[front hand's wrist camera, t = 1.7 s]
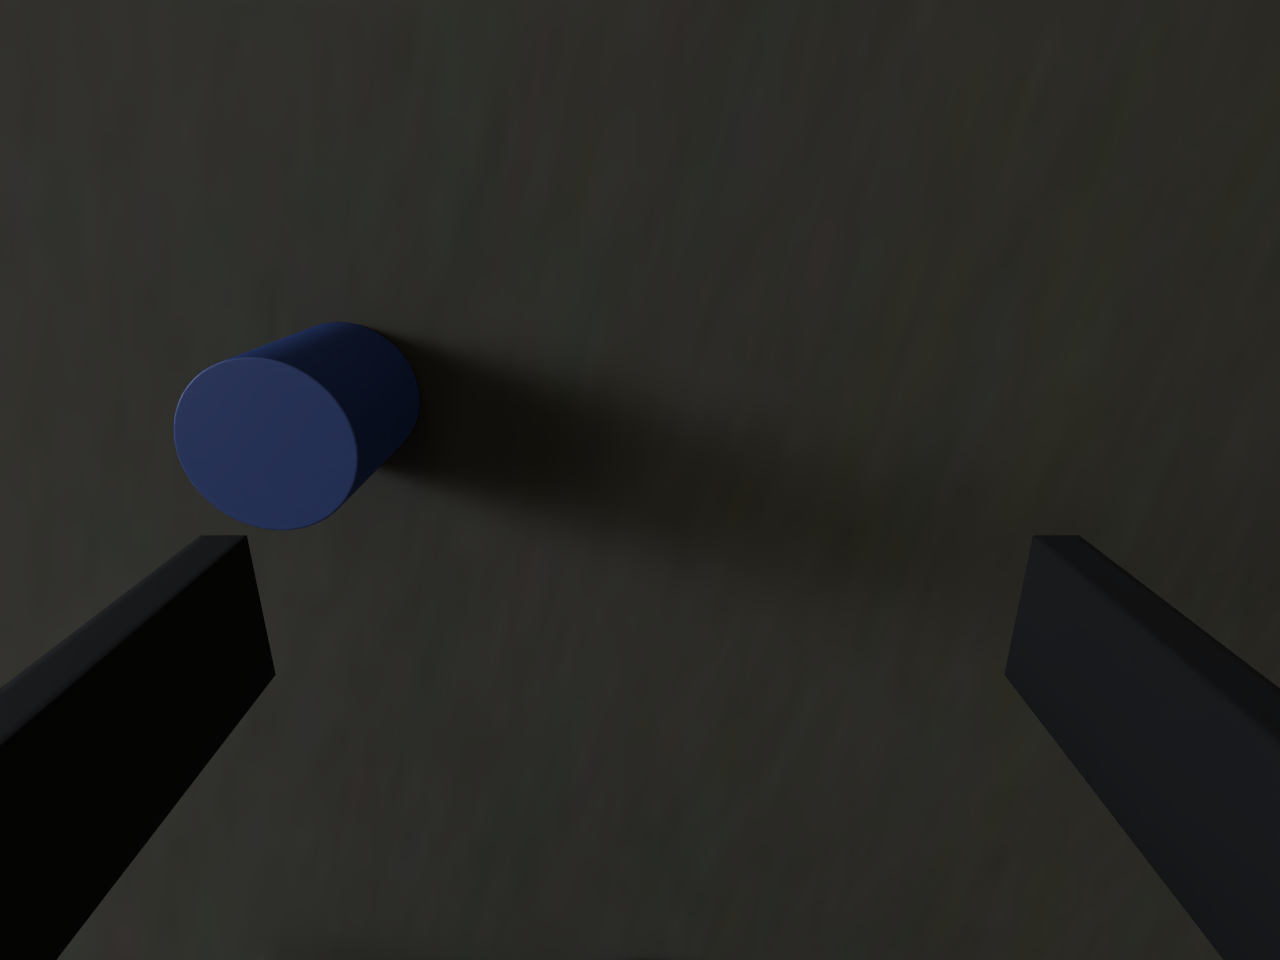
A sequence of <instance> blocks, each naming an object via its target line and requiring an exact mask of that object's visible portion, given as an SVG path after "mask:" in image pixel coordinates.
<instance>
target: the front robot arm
mask: <svg viewBox="0 0 1280 960" xmlns="http://www.w3.org/2000/svg"><path fill="white" fill-rule="evenodd" d="M274 676H275V670H274V665H273V660H272V656H271V651H270V646H269V641H268V636H267V631H266V626H265V622H264V617H263V612H262V607H261V602H260V597H259V593H258V588H257V583H256V578H255V573H254V568H253V563H252V559H251V554H250V549H249V544H248V539H247V536H200V537H198V538H197V539H196V540H194V541H193V542H192V543H190V544H189V545H188V546H187V547H185V548H184V549H183V550H181V551H180V552H179V553H177V554H176V555H175V556H173V557H172V558H171V559H169V560H168V561H167V562H166V563H164V564H163V565H162V566H160V567H159V568H158V569H156V570H155V571H154V572H152V573H151V574H150V575H148V576H147V577H146V578H145V579H143V580H142V581H141V582H139V583H138V584H137V585H135V586H134V587H133V588H131V589H130V590H129V591H127V592H126V593H125V594H124V595H122V596H121V597H120V598H118V599H117V600H116V601H114V602H113V603H112V604H110V605H109V606H108V607H107V608H105V609H104V610H103V611H101V612H100V613H99V614H97V615H96V616H95V617H93V618H92V619H91V620H89V621H88V622H87V623H86V624H84V625H83V626H82V627H80V628H79V629H78V630H76V631H75V632H74V633H72V634H71V635H70V636H68V637H67V638H66V639H65V640H63V641H62V642H61V643H59V644H58V645H57V646H55V647H54V648H53V649H51V650H50V651H49V652H47V653H46V654H45V655H44V656H42V657H41V658H40V659H38V660H37V661H36V662H34V663H33V664H32V665H30V666H29V667H28V668H26V669H25V670H24V671H23V672H21V673H20V674H19V675H17V676H16V677H15V678H13V679H12V680H11V681H9V682H8V683H7V684H6V685H4V686H3V687H2V688H0V960H57V958H58V957H59V956H60V954H61V953H62V952H63V950H64V949H65V948H66V947H67V945H68V944H69V943H70V941H71V940H72V939H73V937H74V936H75V935H76V934H77V932H78V931H79V930H80V928H81V927H82V926H83V924H84V923H85V922H86V921H87V919H88V918H89V917H90V915H91V914H92V913H93V911H94V910H95V909H96V908H97V906H98V905H99V904H100V902H101V901H102V900H103V898H104V897H105V896H106V895H107V893H108V892H109V891H110V889H111V888H112V887H113V885H114V884H115V883H116V882H117V880H118V879H119V878H120V876H121V875H122V874H123V872H124V871H125V870H126V868H127V867H128V866H129V865H130V863H131V862H132V861H133V859H134V858H135V857H136V855H137V854H138V853H139V852H140V850H141V849H142V848H143V846H144V845H145V844H146V842H147V841H148V840H149V839H150V837H151V836H152V835H153V833H154V832H155V831H156V829H157V828H158V827H159V826H160V824H161V823H162V822H163V820H164V819H165V818H166V816H167V815H168V814H169V813H170V811H171V810H172V809H173V807H174V806H175V805H176V803H177V802H178V801H179V800H180V798H181V797H182V796H183V794H184V793H185V792H186V790H187V789H188V788H189V787H190V785H191V784H192V783H193V781H194V780H195V779H196V777H197V776H198V775H199V774H200V772H201V771H202V770H203V768H204V767H205V766H206V764H207V763H208V762H209V761H210V759H211V758H212V757H213V755H214V754H215V753H216V751H217V750H218V749H219V748H220V746H221V745H222V744H223V742H224V741H225V740H226V738H227V737H228V736H229V735H230V733H231V732H232V731H233V729H234V728H235V727H236V725H237V724H238V723H239V722H240V720H241V719H242V718H243V716H244V715H245V714H246V712H247V711H248V710H249V709H250V707H251V706H252V705H253V703H254V702H255V701H256V699H257V698H258V697H259V696H260V694H261V693H262V692H263V690H264V689H265V688H266V686H267V685H268V684H269V683H270V681H271V680H272V679H273V677H274ZM1005 676H1006V677H1007V679H1008V680H1009V681H1010V683H1011V684H1012V685H1013V686H1014V688H1015V689H1016V690H1017V692H1018V693H1019V694H1020V696H1021V697H1022V698H1023V699H1024V701H1025V702H1026V703H1027V705H1028V706H1029V707H1030V709H1031V710H1032V711H1033V712H1034V714H1035V715H1036V716H1037V718H1038V719H1039V720H1040V722H1041V723H1042V724H1043V725H1044V727H1045V728H1046V729H1047V731H1048V732H1049V733H1050V735H1051V736H1052V737H1053V738H1054V740H1055V741H1056V742H1057V744H1058V745H1059V746H1060V748H1061V749H1062V750H1063V751H1064V753H1065V754H1066V755H1067V757H1068V758H1069V759H1070V761H1071V762H1072V763H1073V764H1074V766H1075V767H1076V768H1077V770H1078V771H1079V772H1080V774H1081V775H1082V776H1083V777H1084V779H1085V780H1086V781H1087V783H1088V784H1089V785H1090V787H1091V788H1092V789H1093V790H1094V792H1095V793H1096V794H1097V796H1098V797H1099V798H1100V800H1101V801H1102V802H1103V803H1104V805H1105V806H1106V807H1107V809H1108V810H1109V811H1110V813H1111V814H1112V815H1113V816H1114V818H1115V819H1116V820H1117V822H1118V823H1119V824H1120V826H1121V827H1122V828H1123V829H1124V831H1125V832H1126V833H1127V835H1128V836H1129V837H1130V839H1131V840H1132V841H1133V842H1134V844H1135V845H1136V846H1137V848H1138V849H1139V850H1140V852H1141V853H1142V854H1143V856H1144V857H1145V858H1146V859H1147V861H1148V862H1149V863H1150V865H1151V866H1152V867H1153V869H1154V870H1155V871H1156V872H1157V874H1158V875H1159V876H1160V878H1161V879H1162V880H1163V882H1164V883H1165V884H1166V885H1167V887H1168V888H1169V889H1170V891H1171V892H1172V893H1173V895H1174V896H1175V897H1176V898H1177V900H1178V901H1179V902H1180V904H1181V905H1182V906H1183V908H1184V909H1185V910H1186V911H1187V913H1188V914H1189V915H1190V917H1191V918H1192V919H1193V921H1194V922H1195V923H1196V924H1197V926H1198V927H1199V928H1200V930H1201V931H1202V932H1203V934H1204V935H1205V936H1206V937H1207V939H1208V940H1209V941H1210V943H1211V944H1212V945H1213V947H1214V948H1215V949H1216V950H1217V952H1218V953H1219V954H1220V956H1221V957H1222V958H1223V960H1280V688H1278V687H1277V686H1276V685H1274V684H1273V683H1272V682H1271V681H1269V680H1268V679H1267V678H1265V677H1264V676H1263V675H1261V674H1260V673H1259V672H1257V671H1256V670H1255V669H1253V668H1252V667H1251V666H1250V665H1248V664H1247V663H1246V662H1244V661H1243V660H1242V659H1240V658H1239V657H1238V656H1236V655H1235V654H1234V653H1233V652H1231V651H1230V650H1229V649H1227V648H1226V647H1225V646H1223V645H1222V644H1221V643H1219V642H1218V641H1217V640H1215V639H1214V638H1213V637H1212V636H1210V635H1209V634H1208V633H1206V632H1205V631H1204V630H1202V629H1201V628H1200V627H1198V626H1197V625H1196V624H1194V623H1193V622H1192V621H1191V620H1189V619H1188V618H1187V617H1185V616H1184V615H1183V614H1181V613H1180V612H1179V611H1177V610H1176V609H1175V608H1173V607H1172V606H1171V605H1170V604H1168V603H1167V602H1166V601H1164V600H1163V599H1162V598H1160V597H1159V596H1158V595H1156V594H1155V593H1154V592H1153V591H1151V590H1150V589H1149V588H1147V587H1146V586H1145V585H1143V584H1142V583H1141V582H1139V581H1138V580H1137V579H1135V578H1134V577H1133V576H1132V575H1130V574H1129V573H1128V572H1126V571H1125V570H1124V569H1122V568H1121V567H1120V566H1118V565H1117V564H1116V563H1114V562H1113V561H1112V560H1111V559H1109V558H1108V557H1107V556H1105V555H1104V554H1103V553H1101V552H1100V551H1099V550H1097V549H1096V548H1095V547H1093V546H1092V545H1091V544H1090V543H1088V542H1087V541H1086V540H1084V539H1083V538H1082V537H1080V536H1033V539H1032V544H1031V549H1030V554H1029V559H1028V563H1027V568H1026V573H1025V578H1024V583H1023V588H1022V592H1021V597H1020V602H1019V607H1018V612H1017V617H1016V622H1015V626H1014V631H1013V636H1012V641H1011V646H1010V651H1009V656H1008V660H1007V665H1006V670H1005Z"/></svg>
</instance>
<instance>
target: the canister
mask: <svg viewBox="0 0 1280 960" xmlns="http://www.w3.org/2000/svg"><path fill="white" fill-rule="evenodd" d="M419 404H420V398H419V389H418V384H417V381H416V378H415V375H414V373H413V371H412V368H411V366H410V365H409V363H408V361H407V360H406V358H405V357H404V356H403V354H402V353H401V352H400V351H399V350H398V349H397V348H396V347H395V346H394V345H393V344H392V343H391V342H390V341H389V340H387V339H386V338H385V337H383V336H382V335H380V334H378V333H377V332H375V331H373V330H371V329H368V328H366V327H363V326H360V325H356V324H351V323H343V322H333V323H325V324H321V325H317V326H314V327H312V328H309V329H306V330H304V331H301V332H298V333H296V334H293V335H290V336H288V337H285V338H282V339H280V340H277V341H275V342H272V343H269V344H267V345H264V346H261V347H259V348H256V349H253V350H251V351H248V352H245V353H243V354H240V355H237V356H235V357H232V358H229V359H227V360H224V361H221V362H219V363H216V364H214V365H212V366H210V367H209V368H207V369H205V370H204V371H202V372H201V373H200V374H199V375H197V376H196V377H195V378H194V379H193V380H192V381H191V383H190V384H189V385H188V386H187V388H186V389H185V391H184V392H183V394H182V396H181V398H180V401H179V403H178V405H177V409H176V413H175V420H174V439H175V445H176V450H177V453H178V456H179V459H180V462H181V464H182V466H183V468H184V470H185V472H186V474H187V475H188V477H189V479H190V480H191V482H192V483H193V484H194V486H195V487H196V488H197V490H198V491H199V492H200V493H201V494H202V495H203V496H204V497H205V498H206V499H207V500H208V501H209V502H210V503H212V504H213V505H214V506H215V507H216V508H218V509H219V510H221V511H222V512H224V513H225V514H227V515H229V516H231V517H233V518H234V519H236V520H238V521H241V522H243V523H246V524H249V525H252V526H256V527H259V528H265V529H271V530H291V529H299V528H303V527H307V526H310V525H313V524H316V523H318V522H320V521H322V520H324V519H326V518H327V517H329V516H330V515H331V514H333V513H334V512H335V511H336V510H337V509H338V508H339V507H340V506H341V505H342V504H343V503H344V502H345V501H346V500H347V499H348V498H349V497H350V496H351V495H352V494H353V493H354V492H355V491H356V490H357V489H358V488H359V487H360V486H361V485H362V484H363V483H364V482H365V481H366V480H367V479H368V478H369V477H370V476H371V475H372V474H373V473H374V472H375V471H376V470H377V469H378V468H379V467H380V466H381V465H382V464H383V463H384V462H385V461H386V460H387V459H388V458H389V457H390V456H391V455H392V454H393V453H394V452H395V451H396V450H397V449H398V448H399V447H400V446H401V445H402V444H403V443H404V442H405V440H406V439H407V438H408V436H409V435H410V434H411V432H412V430H413V428H414V426H415V423H416V421H417V418H418V413H419Z"/></svg>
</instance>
